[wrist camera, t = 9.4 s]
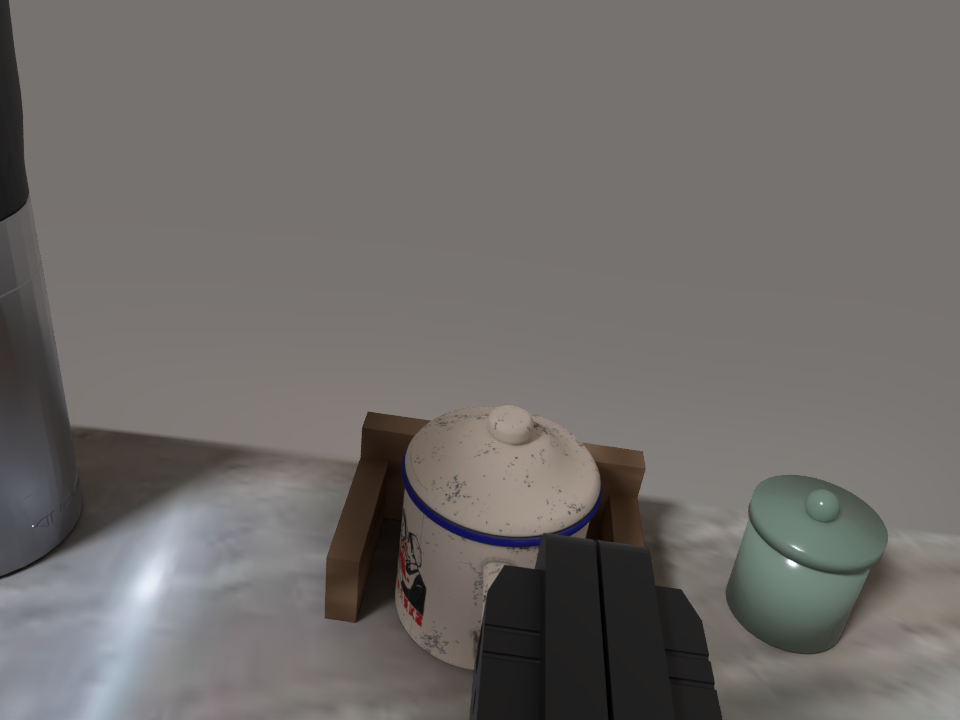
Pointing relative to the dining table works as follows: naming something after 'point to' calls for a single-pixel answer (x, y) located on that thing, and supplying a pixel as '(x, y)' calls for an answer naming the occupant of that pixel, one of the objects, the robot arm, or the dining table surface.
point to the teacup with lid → (482, 515)
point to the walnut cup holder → (383, 497)
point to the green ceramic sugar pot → (803, 562)
